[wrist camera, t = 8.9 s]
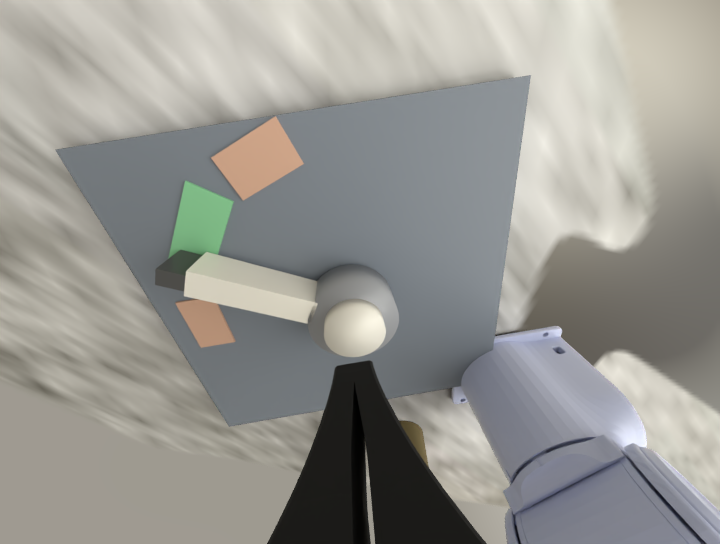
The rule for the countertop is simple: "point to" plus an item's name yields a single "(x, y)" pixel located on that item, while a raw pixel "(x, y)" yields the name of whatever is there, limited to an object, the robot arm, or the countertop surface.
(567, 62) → the countertop surface
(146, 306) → the countertop surface
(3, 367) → the countertop surface
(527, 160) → the countertop surface
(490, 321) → the board
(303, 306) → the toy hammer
